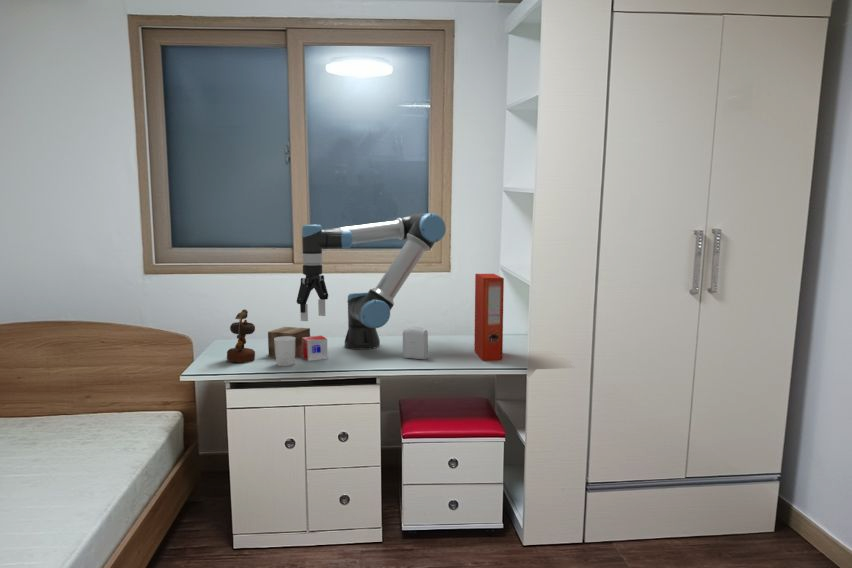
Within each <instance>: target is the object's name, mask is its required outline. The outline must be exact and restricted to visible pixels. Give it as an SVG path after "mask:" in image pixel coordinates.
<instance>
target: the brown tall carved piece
mask: <svg viewBox="0 0 852 568" xmlns="http://www.w3.org/2000/svg"><path fill="white" fill-rule="evenodd" d="M248 314H249V312H248V310H247V309H246V308H244V309H242V310H241V311H240V312H238V313H237V315H236V316H235V318H234V319H235V320H239V321H237V322H232V323H231V325H230V326H229V330H230V332H231V333H232V334H233V335H236V339H238V340H237V343H236V344H235V346H234V347H232V348H229V349H228V350H227V351H226V360H227V361H228V362H233V363H251V362H254V361H255V360H256V359H255V358H256V351H255V350H254V349H252V348H249V347H245V345H246V343H247V340H246V336H247V335H253V333H255V331H256V325H255V324H254V323H252V322H248V320H247V318H248ZM243 320H244V321H243Z"/></svg>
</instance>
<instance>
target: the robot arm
mask: <svg viewBox="0 0 852 568" xmlns="http://www.w3.org/2000/svg"><path fill="white" fill-rule="evenodd" d="M301 229H302V230H301V233H302V234H301V240H302V241H301V243H302V246H301V247H302V248H301V249H302V264H303V265H302V274H303V275H304V276H305V277H301V278H300V285H299V290H298V293H297V296H296V297H297V298H296V303H297V305H300V306H299V308H300V309H299V310H300V312H299V313H300V322H308V321H309V320H308V319H309V314H308V313H309V311H308V308H309V307H308V304H307V302H308V300H309V297H310V295H311V292H312V291H313V290H314V291H315V292H316V294H317V297H318V298H319V299H317V300H318V316H319V317H326V300H328V299H329V293H328V289H327V286H326V282H325V275H323V265H322V264H323V250H326V249H327V250H328V249H336V250H337V249H338V250H339V249H342V250H344V249H350V248H351V247H352V245H354V244H360V243H361V244H362V243H369V242H377V241H378V242H379V241H386V240H392V239H393V240H395V239H398V240H400V241H403V240H406V242H405V243H404V245H402V248H401V249H400V251H399V252H398V254H397V255H396V256H395V258H394V259H393V261H392V263H391V264H390V265H389V267H388V268H387V270H386V272H385V273H384V274H383V276H382V278H381V279H380V281H379V282H378V284H377V285H376V286H375V287H374V288H370V289H369V290H368V292H357V293H356V292H354V293H353V292H352V293H349V294H348V295H347V301H346V302H347V321H348V322H347V323H348V325H347V326H348V328H347V332H346V335H345V339H344V347H345V348H346V347H347V349H350V348H351V350H368V349H369V348H370V349H375V348H374V347H376V348H378V347H380V346H379V345H381V340H380V337H379V334H378V331H377V329H379V328H382V327H384V326H385V325H386V324H387V323H388V322H389V320H390V317H391V310H392V308H393V307H394V306H395V303H394V299H395V297H396V296H397V294H398V292H399V291H400V290H401V288H402V287H403V285H404V283H405V282H406V281H407V279H408V278H409V276H410V274H411V273H412V271H413V270H414V268H415V267H416V265H417V264H418V262H419V261H420V259H421V258H422V256H423V255H424V253H425V252H428V251H431V249H432V248H433V247H434V245H435V243H438V242H439V241H441V240H442V239H443V238H444V236H445V235H446V229H447V228H446V223H445V221H444V219H443V218H442V216H440V215H439V214H436V213H433V212H427V213H421V212H419V213H414V214H412V215H406V216H401V217H397V218H396V219H395V220H389V221H380V222H373V223H364V224H357V225H349V226H347V225H346V226H341V227H333V228H322V225H321V224H304V225H302V227H301ZM377 346H378V347H377ZM370 349H369V350H370Z"/></svg>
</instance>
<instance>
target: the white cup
mask: <svg viewBox="0 0 852 568" xmlns="http://www.w3.org/2000/svg"><path fill="white" fill-rule="evenodd" d="M295 339H296V338H295V337H291V336H284V337H277V338H274V344H275V355H276V357H275V362H276V365H277V366H279V367H290V366H294V365H295V364H296V363H295V361H296V358H295Z"/></svg>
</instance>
